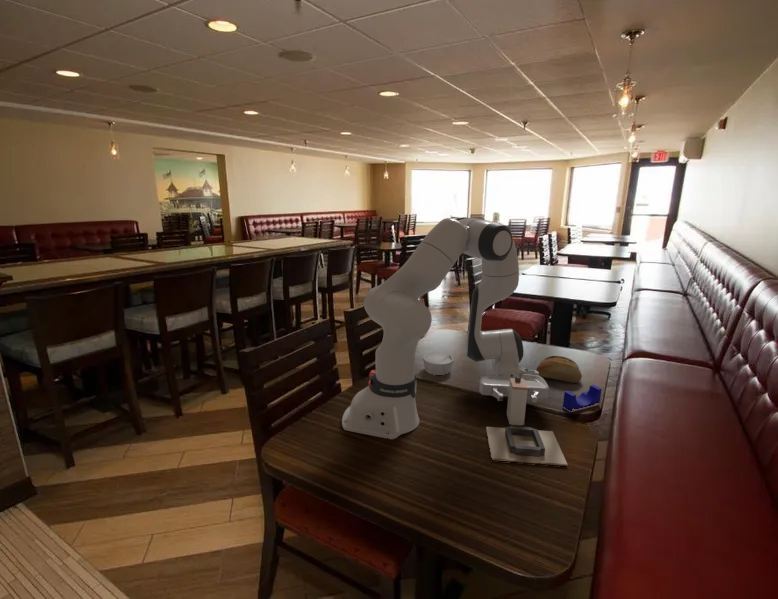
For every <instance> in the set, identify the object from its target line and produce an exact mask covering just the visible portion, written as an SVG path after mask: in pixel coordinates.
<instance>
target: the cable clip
mask: <svg viewBox="0 0 778 599" xmlns="http://www.w3.org/2000/svg"><path fill="white" fill-rule="evenodd" d="M602 391H603V389H602V388H601V387H599V386H597V385H595V384H592V385H591V384H590V386H589V388H588V391H584V392H582V393H581V394H580V395H579V396H578V397H577V395H576V394H575V393H573V392H572V391H570V390H565V391H564V394H563V401H562V408H563V407H565V408H566V409H568V410H570V411H572V409H573V408H574V409H579V408H583V407H587V406H591V405H594V404H595V403H600V404H601V395H602Z"/></svg>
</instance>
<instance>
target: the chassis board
mask: <svg viewBox="0 0 778 599" xmlns="http://www.w3.org/2000/svg"><path fill="white" fill-rule="evenodd" d="M485 431H486V436H487V437H488V438H487V442H488V448H490V449H489V453H491V454H490V459H491V458H492V460H499V461H518V462H528V463H529V462H530V463H541V464H551V465H552V464H553V465H566V466H567V467H568V465H569V464H568V463H567V460H566V458H565V456H564V453H563V451H562V450H561V447H560V444H559V443H558V440H557V438H556V436H555V434H554V431H552V430H541V429H540V430H538V429H537V428H533V427H529V426H518V425H509V426H505V427H496V426H495V427H494V426H486V427H485ZM492 460H491V461H492Z"/></svg>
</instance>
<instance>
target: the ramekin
mask: <svg viewBox="0 0 778 599" xmlns="http://www.w3.org/2000/svg"><path fill="white" fill-rule="evenodd" d="M422 361H423V367H424V370H425V372H426V371H427V372H428V374H429V373H431V374H434V375H433V376H435V375H443V376H446V375H448V374H449V373H450V372H451V371H452V366H453V363H454V357H453V356H452V355H451V354H448V353H445V352H440V351H439V352H437V351H435V352H434V351H432V352H428V353H427V352H426V353H425V354H424V355H423V356H422ZM427 372H426V373H427ZM431 374H430V375H431ZM445 374H446V375H445Z"/></svg>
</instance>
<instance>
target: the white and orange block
mask: <svg viewBox="0 0 778 599" xmlns="http://www.w3.org/2000/svg"><path fill="white" fill-rule="evenodd" d="M527 390H528V387H527V385H526V383H525V380H524V379H521V377H518V376H517V377H515V378H510V382H509V393H508V396H507V404H506V405H507V406H506V407H507V408H506V416H507V420H508V423H509V425H510V424H511V425H510V426H522V425H524V426H525V417H526V410H527V409H526V408H527V407H526V406H527V399H528V398H527Z"/></svg>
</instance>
